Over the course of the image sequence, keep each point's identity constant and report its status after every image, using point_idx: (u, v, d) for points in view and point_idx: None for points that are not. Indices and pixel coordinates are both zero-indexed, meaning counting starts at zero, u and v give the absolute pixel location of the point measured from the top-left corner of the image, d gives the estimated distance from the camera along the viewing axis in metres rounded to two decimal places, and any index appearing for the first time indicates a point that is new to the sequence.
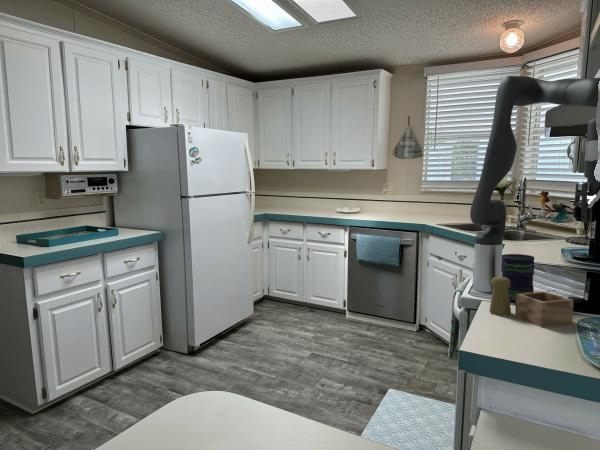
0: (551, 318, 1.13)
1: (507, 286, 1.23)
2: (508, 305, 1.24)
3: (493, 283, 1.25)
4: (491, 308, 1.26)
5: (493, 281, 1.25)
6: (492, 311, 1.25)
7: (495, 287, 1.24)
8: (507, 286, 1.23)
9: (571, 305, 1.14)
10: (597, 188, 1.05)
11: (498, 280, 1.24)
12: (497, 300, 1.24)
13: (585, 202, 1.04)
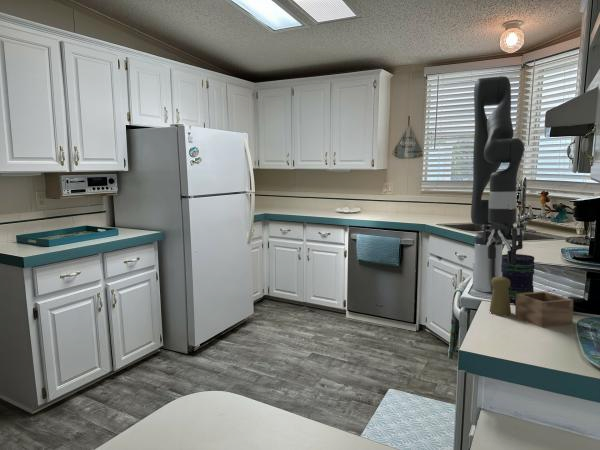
0: (551, 318, 1.13)
1: (507, 286, 1.23)
2: (508, 305, 1.24)
3: (493, 283, 1.25)
4: (491, 308, 1.26)
5: (493, 281, 1.25)
6: (492, 311, 1.25)
7: (495, 287, 1.24)
8: (507, 286, 1.23)
9: (571, 305, 1.14)
10: None
11: (498, 280, 1.24)
12: (497, 300, 1.24)
13: None
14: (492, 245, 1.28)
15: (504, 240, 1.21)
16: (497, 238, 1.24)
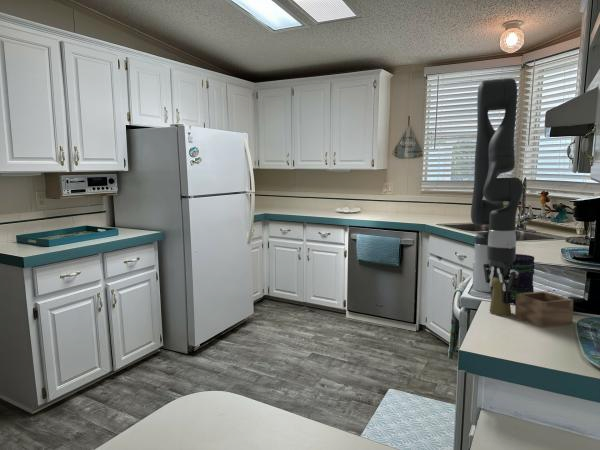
0: (551, 318, 1.13)
1: None
2: (508, 305, 1.24)
3: (493, 283, 1.25)
4: (491, 308, 1.26)
5: (493, 280, 1.25)
6: (492, 311, 1.25)
7: (495, 287, 1.24)
8: None
9: (571, 305, 1.15)
10: None
11: (498, 280, 1.24)
12: (497, 300, 1.24)
13: None
14: None
15: (501, 280, 1.22)
16: (496, 275, 1.25)
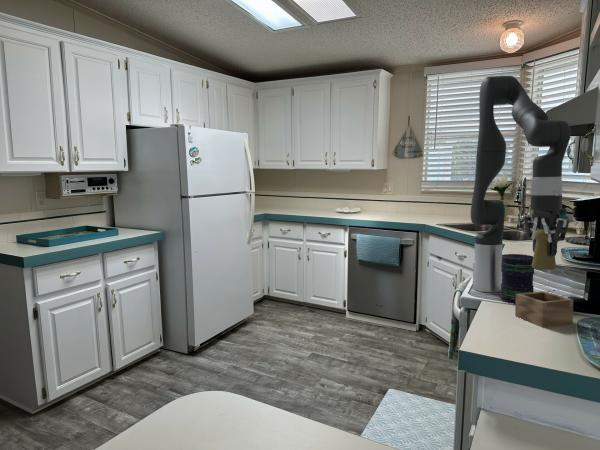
0: (552, 318, 1.13)
1: (552, 237, 1.14)
2: (553, 258, 1.15)
3: (537, 235, 1.16)
4: (534, 262, 1.17)
5: (536, 232, 1.16)
6: (535, 265, 1.17)
7: (539, 239, 1.16)
8: None
9: (571, 305, 1.15)
10: None
11: (542, 231, 1.15)
12: (542, 253, 1.15)
13: None
14: None
15: (546, 230, 1.14)
16: (540, 227, 1.17)
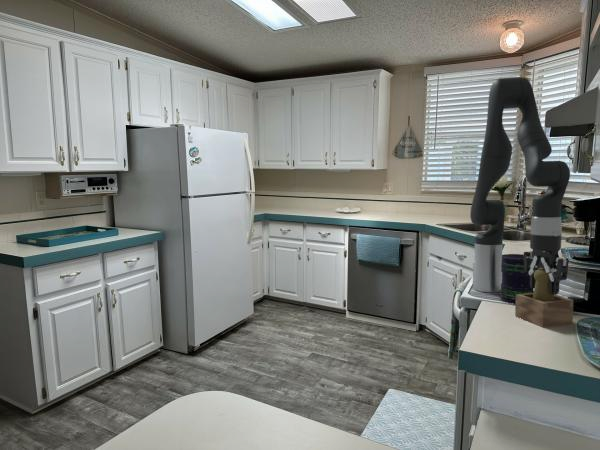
0: (552, 318, 1.13)
1: None
2: (553, 299, 1.16)
3: (536, 276, 1.17)
4: None
5: (536, 273, 1.17)
6: None
7: (539, 280, 1.17)
8: None
9: (571, 305, 1.15)
10: None
11: (542, 272, 1.16)
12: (541, 293, 1.16)
13: None
14: None
15: (547, 269, 1.14)
16: (540, 265, 1.18)
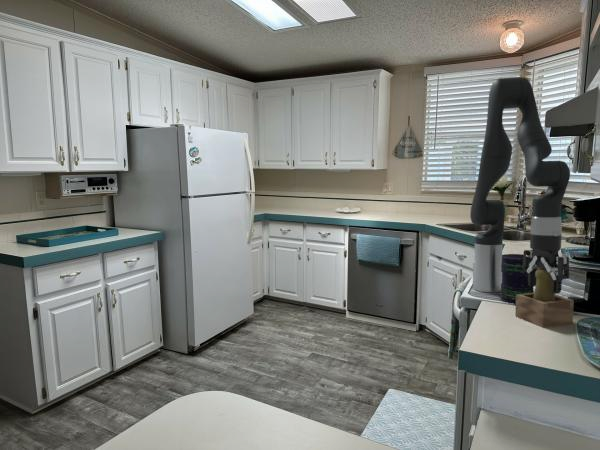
0: (552, 318, 1.13)
1: None
2: (554, 298, 1.16)
3: (538, 274, 1.17)
4: None
5: (538, 271, 1.18)
6: None
7: (540, 278, 1.17)
8: None
9: (571, 305, 1.15)
10: None
11: (544, 271, 1.16)
12: (543, 292, 1.16)
13: None
14: (533, 272, 1.22)
15: (548, 268, 1.14)
16: (540, 265, 1.18)
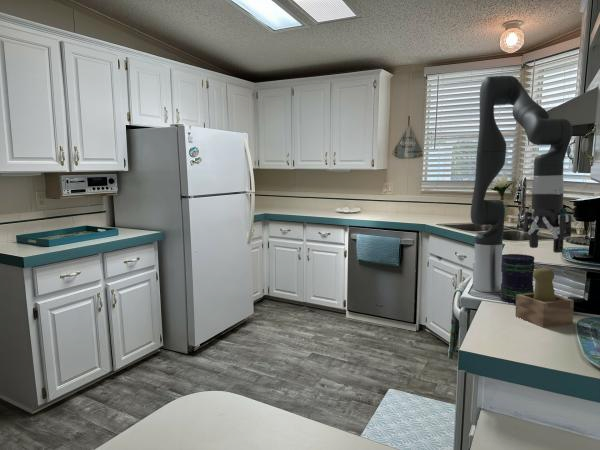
0: (552, 318, 1.13)
1: (552, 277, 1.16)
2: (554, 298, 1.16)
3: (537, 275, 1.17)
4: None
5: (537, 273, 1.17)
6: None
7: (540, 279, 1.16)
8: (553, 277, 1.16)
9: (571, 305, 1.15)
10: None
11: (543, 271, 1.16)
12: (544, 293, 1.16)
13: None
14: (534, 233, 1.21)
15: (550, 227, 1.13)
16: (541, 225, 1.17)
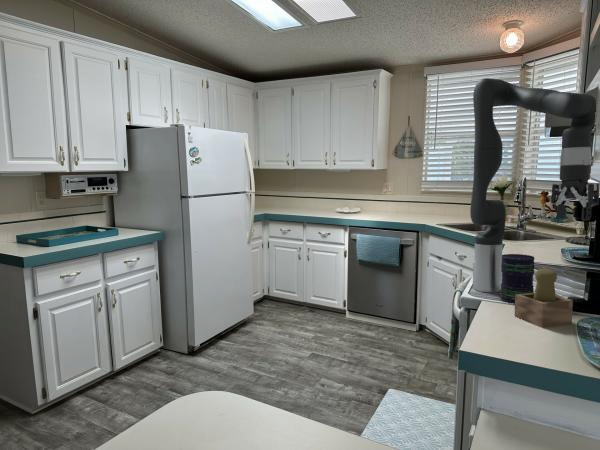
0: (551, 318, 1.13)
1: None
2: None
3: (545, 279, 1.13)
4: None
5: (544, 277, 1.13)
6: None
7: (547, 283, 1.13)
8: None
9: (570, 305, 1.14)
10: None
11: (551, 275, 1.13)
12: (550, 295, 1.14)
13: None
14: (562, 204, 1.26)
15: (578, 197, 1.19)
16: (569, 196, 1.22)
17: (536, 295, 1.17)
